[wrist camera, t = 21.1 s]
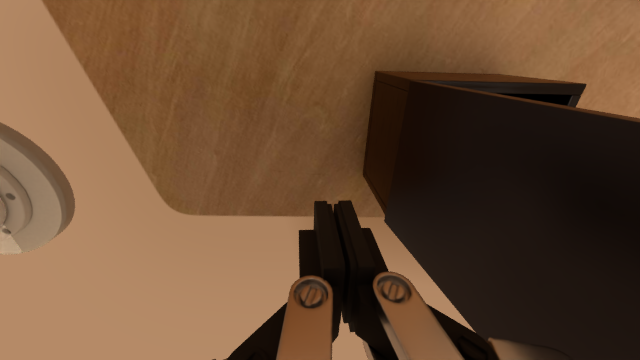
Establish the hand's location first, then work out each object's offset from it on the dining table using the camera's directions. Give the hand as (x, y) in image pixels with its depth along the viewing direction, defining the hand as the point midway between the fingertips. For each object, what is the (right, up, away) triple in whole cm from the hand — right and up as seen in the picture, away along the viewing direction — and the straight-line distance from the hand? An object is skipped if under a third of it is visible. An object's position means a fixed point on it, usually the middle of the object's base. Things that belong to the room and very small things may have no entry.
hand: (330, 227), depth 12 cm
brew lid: (+8, +1, +2) cm, 8 cm away
